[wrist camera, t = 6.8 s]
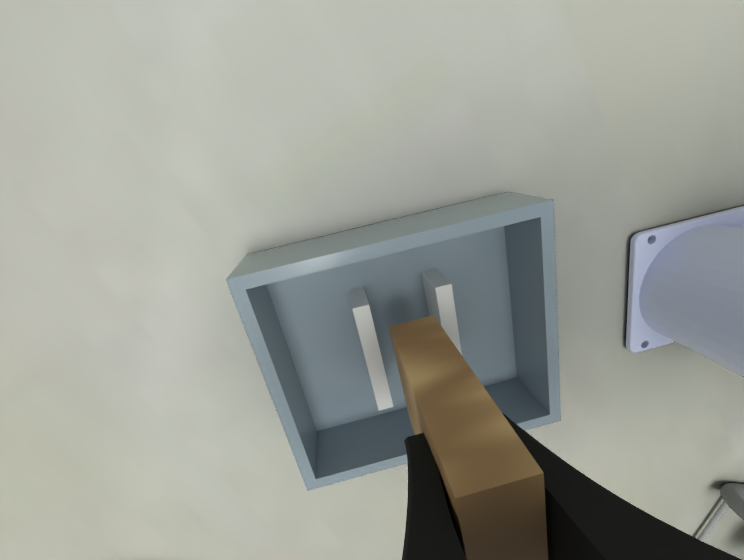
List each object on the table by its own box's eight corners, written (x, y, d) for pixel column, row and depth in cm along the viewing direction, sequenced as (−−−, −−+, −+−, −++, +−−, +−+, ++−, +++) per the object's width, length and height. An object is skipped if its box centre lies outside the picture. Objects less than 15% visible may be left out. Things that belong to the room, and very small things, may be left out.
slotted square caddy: (507, 191, 18) (553, 199, 15) (521, 377, 23) (560, 420, 19) (246, 254, 18) (225, 279, 14) (310, 434, 22) (307, 490, 18)
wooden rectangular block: (433, 314, 15) (543, 472, 8) (449, 405, 17) (550, 606, 9) (388, 326, 15) (455, 498, 7) (409, 416, 17) (479, 629, 9)
